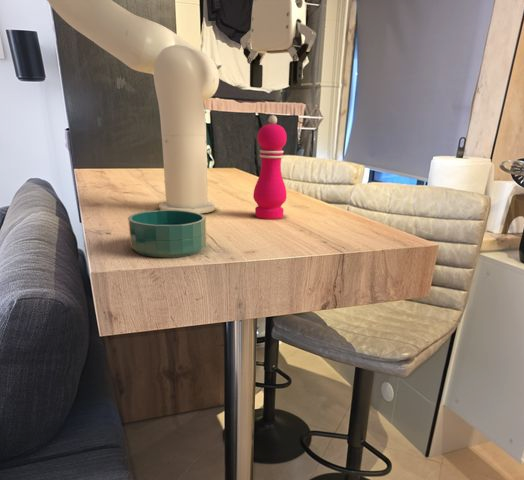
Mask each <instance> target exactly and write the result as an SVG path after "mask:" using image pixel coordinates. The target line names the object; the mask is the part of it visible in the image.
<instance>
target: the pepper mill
mask: <svg viewBox="0 0 524 480" xmlns="http://www.w3.org/2000/svg"><path fill="white" fill-rule="evenodd" d="M267 121H268V124H265V125H263V126H262V127H260V129H259V130H258V133H257V143H258V145H259V146H260V147H261V149H260V150H259V157H260V158H261V166H260V172H259V175H258V178H257V180H256V182H255V186H254V189H253V196H252V198H253V200H254V202H255V203H256V204H257V206H256V207H254V208H255V209H254V216H255V217H256V218H258V219H265V220H277V219H283V217H284V208H283V207H282V206H283V204H284V203H285V202H286V201H287V189H286V185H285V182H284V178H283V175H282V166H281V165H282V159H283V158H284V152H285V151H284V150H283V148H284V147H285V145H286V144H287V140H288V139H287V132H286V130H285V128H284V127H283V126H282V125H280V124H277V123H278V118H277V115H274V114H272V115H270V116H269V117H268V120H267Z"/></svg>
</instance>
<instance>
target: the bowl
mask: <svg viewBox="0 0 524 480" xmlns="http://www.w3.org/2000/svg"><path fill="white" fill-rule="evenodd" d="M127 224H128V233H129V243H130V247H131V249H132V250H134V251H135V252H136V253H138V254H139V255H141V256H147V257H152V258H162V259H163V258H164V259H165V258H166V259H167V258H169V259H172V258H182V257H190V256H193V255H196V254H199V253H201V252H202V251H203V250H204V249H205V248H206V247H207V244H208V241H207V239H208V238H207V217H206V216H205V215H204V214H203V213H202V214H199V213H195V212H189V211H179V210H160V209H159V210H148V211H141V212H136V213H133V214H130V215H129V216H128V217H127Z"/></svg>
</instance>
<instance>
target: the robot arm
mask: <svg viewBox="0 0 524 480" xmlns="http://www.w3.org/2000/svg"><path fill="white" fill-rule="evenodd" d="M46 1H47V3H48V5H50V7H51V8H52V9H53V10H54V11H55V12H56V14H57V15H58V16H59V17H60V18H61V19H62V20H63V21H65V23H67V24H68V25H69V26H70V27H71V28H73V29H74V30H76V31H77V32H78V33H80V34H81V35H83V36H84V37H86V38H87V39H88V40H90V41H92V42H93V43H95V44H96V45H97V46H98V47H100V48H101V49H102V50H104V51H105V52H107V53H109V54H110V55H111V56H113V57H114V58H116V59H118V60H119V61H120V62H122V63H123V64H124V65H125V66H127V68H129V69H132V70H134V71H136V72H140V73H145V74H151V75H153V83H154V88H155V93H156V98H157V104H158V110H159V119H160V135H161V144H162V145H161V146H162V160H163V161H162V163H163V174H164V175H163V176H164V177H163V178H164V192H165V201H162V202H160V203H159V207H158V208H159V210H179V211H189V212H195V213H199V214H202V215H203V214H208V213H211V212H214V211H215V209H216V205H215V203H214V202H212V201H209V191H208V190H209V189H208V186H209V185H208V146H207V144H208V143H207V124H206V123H207V121H206V120H207V119H206V113H205V112H206V111H205V106H204V102H205V101H208V100H209V99H210V98H212V97H213V96H214V95H215V94H216V92H217V90H218V88H219V84H220V74H219V70H218V67H217V65H216V63H215V62H214V60H213V59H212V57H210V56H209V54H207V53H205V52H204V51H203V50H201V49H199V48H198V47H196V46H195V45H194V44H192V43H191V42H189V41H187V40H186V39H185V38H183V37H182V36H179V34H177V33H176V32H174V31H172V30H171V29H170V28H168V27H166V26H164V25H162V24H161V23H158V22H155V21H152V20H150V19H148V18H145V17H142V16H138V15H136V14H134V13H132V12H131V11H130V10H127V9H125V8H124V7H122V6H121V5H120V4H119V3H117V2H115V1H114V0H46ZM316 38H317V32H316V31H314V30H313V29H312V28H310V27H309V26H307V25H306V1H305V0H252V8H251V20H250V29H249V30H248V31H247V32H246V33H244V35H243V36H242V37H241V38H240V46H241V48H242V51H243V52H242V53H243V56H244V57H245V58H246V62H247V64H249V87H250V88H257V89H261V88H263V74H264V73H263V71H264V66H263V64H261V63H262V61H263V59H264V57H265V55H266V54H269V55H270V54H272V55H273V54H287V53H288V54H289V56H290V58H291V60H290V61H289V64H288V83H287V85H288V87H290V88H301V86H302V80H303V67H304V66H303V65H304V63H305V62H306V61H307V57H308V56H309V54H310V53H311V51H312V49H313V47H312V46H313V45H314V43H315V40H316Z"/></svg>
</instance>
